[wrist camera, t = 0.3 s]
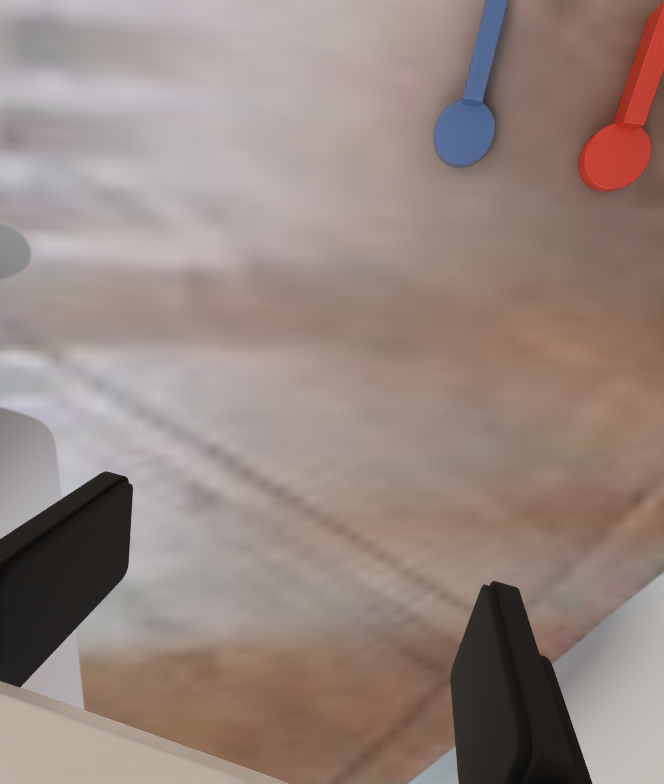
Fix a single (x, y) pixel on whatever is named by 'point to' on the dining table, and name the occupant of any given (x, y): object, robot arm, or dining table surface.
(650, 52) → the red spoon
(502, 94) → the dining table surface
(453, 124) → the blue spoon
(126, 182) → the dining table surface
